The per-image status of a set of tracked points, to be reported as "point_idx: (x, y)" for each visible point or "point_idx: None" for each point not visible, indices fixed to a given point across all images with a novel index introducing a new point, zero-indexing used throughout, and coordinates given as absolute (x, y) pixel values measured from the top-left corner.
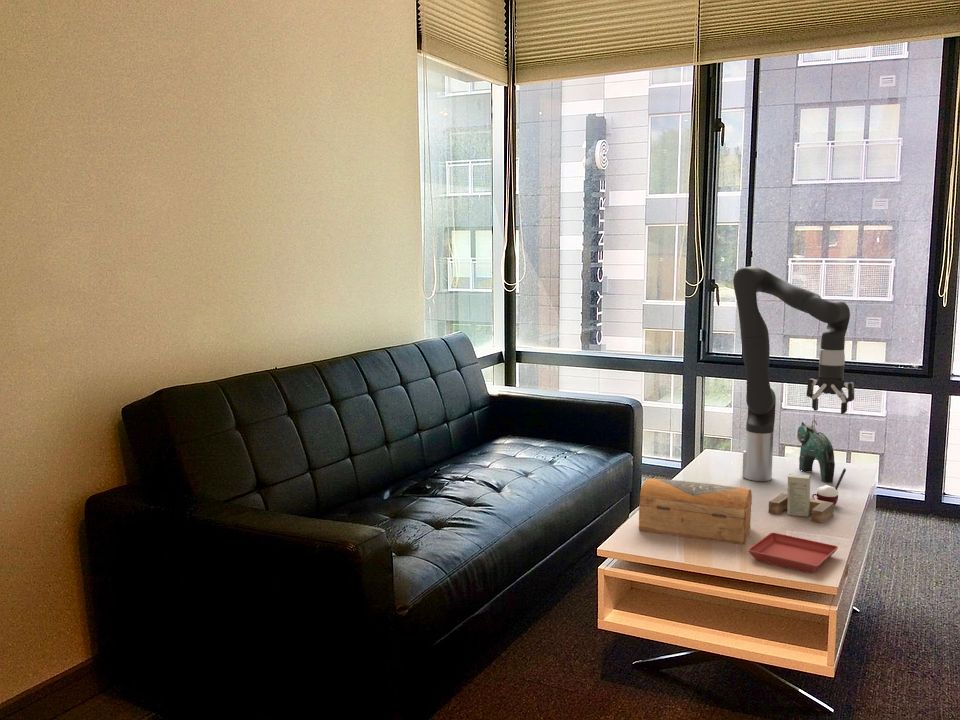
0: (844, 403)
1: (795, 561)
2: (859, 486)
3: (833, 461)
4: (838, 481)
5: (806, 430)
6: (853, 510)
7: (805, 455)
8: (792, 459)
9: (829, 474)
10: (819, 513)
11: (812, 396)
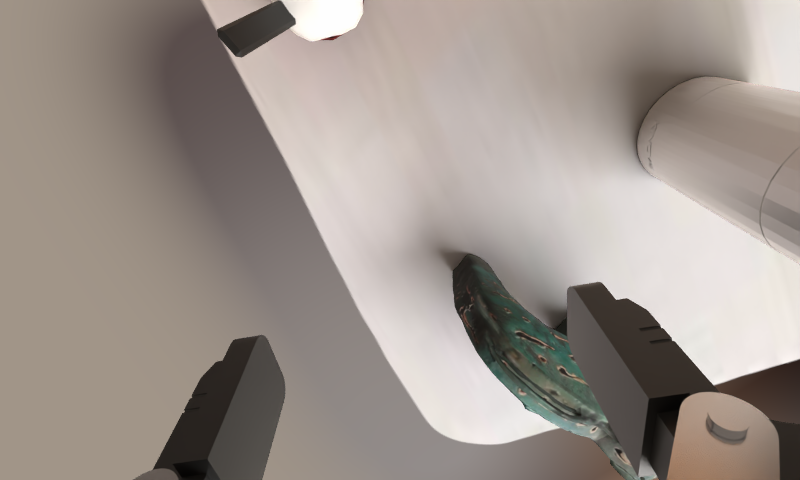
0: (176, 469)
1: None
2: (373, 293)
3: (462, 314)
4: (270, 19)
5: None
6: (218, 4)
7: None
8: None
9: (462, 275)
10: None
11: (776, 439)
